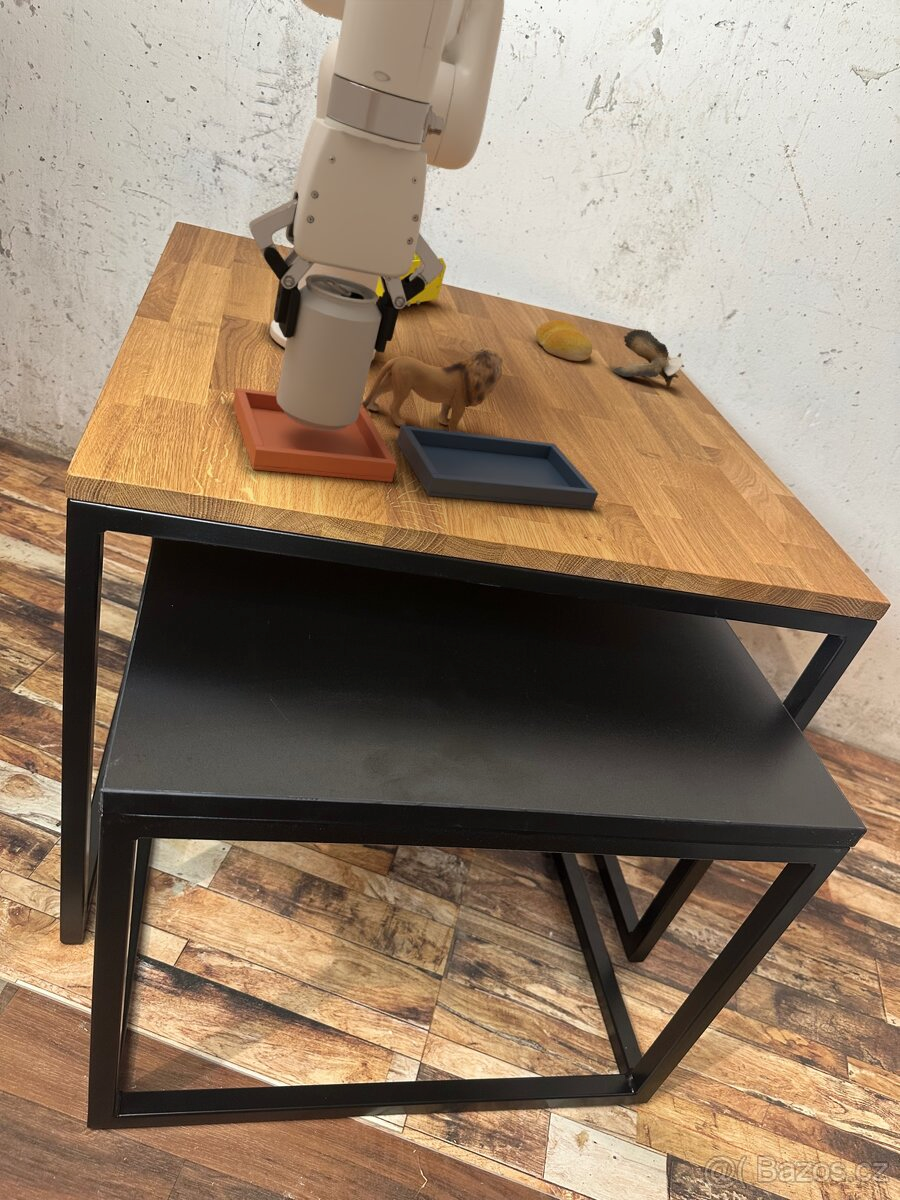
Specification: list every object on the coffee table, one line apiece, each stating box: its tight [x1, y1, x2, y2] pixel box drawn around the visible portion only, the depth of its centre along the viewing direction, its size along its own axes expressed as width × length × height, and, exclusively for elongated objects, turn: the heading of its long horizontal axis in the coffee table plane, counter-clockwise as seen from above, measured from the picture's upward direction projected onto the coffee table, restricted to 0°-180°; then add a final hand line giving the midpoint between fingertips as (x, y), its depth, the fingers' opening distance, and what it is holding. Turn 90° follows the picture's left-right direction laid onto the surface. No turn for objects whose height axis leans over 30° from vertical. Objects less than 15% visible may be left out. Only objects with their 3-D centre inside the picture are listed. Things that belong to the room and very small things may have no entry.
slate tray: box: [396, 425, 599, 511], centre depth 85 cm, size 11×18×2 cm, turn 109°
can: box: [276, 274, 382, 431], centre depth 76 cm, size 8×8×12 cm
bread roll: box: [535, 319, 593, 362], centre depth 129 cm, size 8×9×4 cm
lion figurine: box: [361, 346, 504, 432], centre depth 90 cm, size 15×5×9 cm, turn 110°
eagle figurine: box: [612, 328, 685, 389], centre depth 128 cm, size 8×7×9 cm
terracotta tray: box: [232, 387, 397, 483], centre depth 80 cm, size 13×13×2 cm
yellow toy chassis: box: [376, 254, 447, 307], centre depth 125 cm, size 16×6×8 cm, turn 150°
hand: (331, 338), depth 75 cm, fingers closed on can, 7 cm apart
